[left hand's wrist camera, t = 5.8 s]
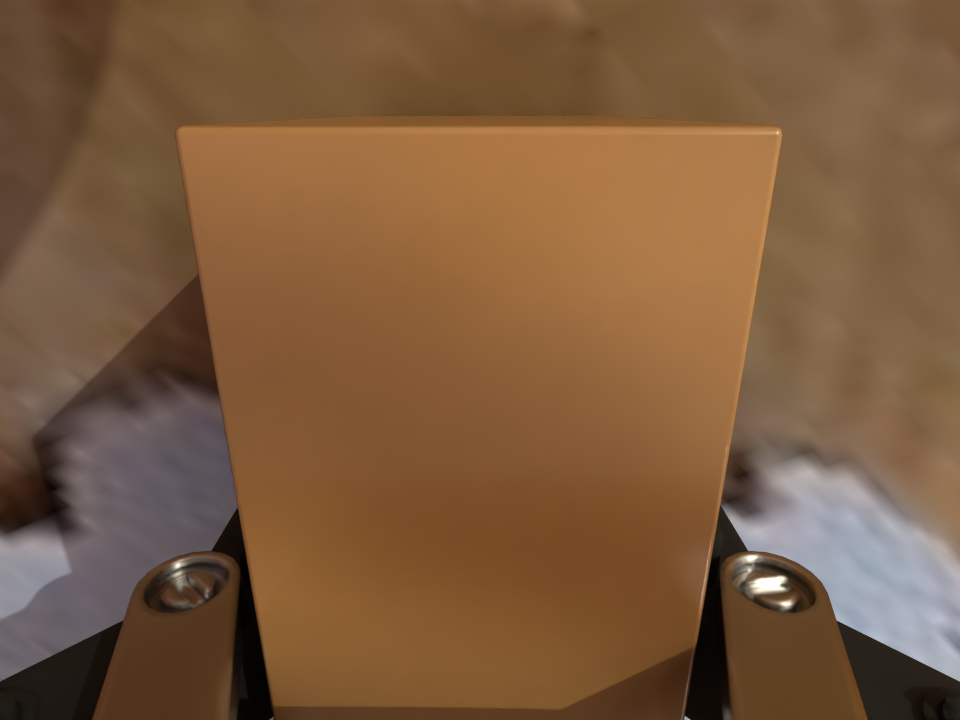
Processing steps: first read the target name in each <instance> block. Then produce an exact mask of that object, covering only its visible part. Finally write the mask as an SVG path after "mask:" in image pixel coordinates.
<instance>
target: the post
mask: <svg viewBox="0 0 960 720" xmlns="http://www.w3.org/2000/svg"><path fill="white" fill-rule="evenodd" d="M175 139H176V145H177V151H178V156H179V162H180V168H181V174H182V180H183V186H184V192H185V198H186V204H187V210H188V215H189V221H190V227H191V233H192V239H193V245H194V251H195V257H196V263H197V269H198V274H199V280H200V286H201V292H202V298H203V304H204V310H205V316H206V322H207V328H208V333H209V339H210V345H211V351H212V357H213V363H214V369H215V375H216V381H217V387H218V392H219V398H220V404H221V410H222V416H223V422H224V428H225V434H226V440H227V445H228V451H229V457H230V463H231V469H232V475H233V481H234V487H235V493H236V499H237V504H238V510H239V516H240V522H241V528H242V534H243V540H244V546H245V552H246V558H247V563H248V569H249V575H250V581H251V587H252V593H253V599H254V605H255V611H256V617H257V622H258V628H259V634H260V640H261V646H262V652H263V658H264V664H265V670H266V676H267V681H268V687H269V693H270V699H271V705H272V711H273V717H274V720H684V717H685V711H686V705H687V699H688V693H689V687H690V681H691V675H692V670H693V664H694V658H695V652H696V646H697V640H698V634H699V628H700V622H701V616H702V610H703V604H704V598H705V592H706V586H707V580H708V574H709V568H710V562H711V556H712V550H713V544H714V538H715V533H716V527H717V521H718V515H719V509H720V503H721V497H722V491H723V485H724V479H725V473H726V467H727V461H728V455H729V449H730V443H731V437H732V431H733V425H734V419H735V413H736V407H737V401H738V396H739V390H740V384H741V378H742V372H743V366H744V360H745V354H746V348H747V342H748V336H749V330H750V324H751V318H752V312H753V306H754V300H755V294H756V288H757V282H758V276H759V270H760V265H761V259H762V253H763V247H764V241H765V235H766V229H767V223H768V217H769V211H770V205H771V199H772V193H773V187H774V181H775V175H776V169H777V163H778V157H779V151H780V145H781V139H782V131H781V129H780V128H778V127H776V126H771V125H754V124H737V123H720V122H703V121H686V120H669V119H653V118H636V117H619V116H341V117H324V118H307V119H289V120H272V121H255V122H238V123H220V124H203V125H186V126H181V127H179V128H177V129H176V132H175Z"/></svg>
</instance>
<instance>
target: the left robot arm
mask: <svg viewBox="0 0 960 720" xmlns="http://www.w3.org/2000/svg"><path fill="white" fill-rule="evenodd" d="M685 716H686V717H688V718H689V719H691V720H960V682H959V681H957V680H955V679H953V678H951V677H949V676H947V675H945V674H943V673H941V672H939V671H937V670H935V669H933V668H931V667H929V666H927V665H925V664H923V663H921V662H919V661H917V660H915V659H913V658H911V657H909V656H907V655H905V654H903V653H901V652H899V651H897V650H895V649H893V648H891V647H889V646H887V645H885V644H883V643H881V642H879V641H877V640H875V639H873V638H871V637H869V636H867V635H864V634H862V633H860V632H858V631H856V630H854V629H852V628H850V627H848V626H846V625H844V624H842V623H840V622H838V621H836V618H835V615H834V612H833V608H832V605H831V602H830V599H829V596H828V593H827V591H826V589H825V588H824V586H823V584H822V582H821V581H820V580H819V579H818V578H817V577H816V576H815V575H814V574H813V573H812V572H810V571H809V570H807V569H806V568H804V567H803V566H801V565H800V564H798V563H796V562H794V561H792V560H789V559H787V558H785V557H782V556H779V555H775V554H771V553H767V552H756V551H748V550H747V548H746V547H745V545H744V543H743V542H742V540H741V538H740V537H739V535H738V533H737V532H736V530H735V528H734V527H733V525H732V523H731V522H730V520H729V519H728V517H727V515H726V514H725V512H724V510H723V509H722V507H721V505H720V509H719V515H718V521H717V527H716V533H715V538H714V544H713V550H712V556H711V562H710V568H709V574H708V580H707V586H706V592H705V598H704V604H703V610H702V616H701V622H700V628H699V634H698V640H697V646H696V652H695V658H694V664H693V670H692V675H691V681H690V687H689V693H688V699H687V705H686V711H685ZM272 717H273V711H272V705H271V699H270V693H269V687H268V681H267V676H266V670H265V664H264V658H263V652H262V646H261V640H260V634H259V628H258V622H257V617H256V611H255V605H254V599H253V593H252V587H251V581H250V575H249V569H248V563H247V558H246V552H245V546H244V540H243V534H242V528H241V522H240V516H239V510H238V508H237V510H236V511H235V513H234V514H233V516H232V518H231V519H230V521H229V523H228V524H227V526H226V528H225V529H224V531H223V533H222V534H221V536H220V538H219V539H218V541H217V543H216V544H215V546H214V548H213V549H212V551H204V552H193V553H189V554H185V555H181V556H178V557H175V558H173V559H171V560H168V561H166V562H164V563H162V564H160V565H159V566H157V567H156V568H154V569H153V570H151V571H150V572H148V573H147V574H146V575H145V576H144V577H143V578H142V579H141V580H140V581H139V582H138V584H137V586H136V588H135V589H134V591H133V593H132V596H131V599H130V602H129V605H128V608H127V612H126V615H125V618H124V620H123V621H121V622H119V623H117V624H115V625H113V626H111V627H109V628H107V629H105V630H103V631H101V632H99V633H97V634H95V635H93V636H91V637H89V638H87V639H85V640H83V641H81V642H79V643H77V644H75V645H73V646H71V647H69V648H67V649H65V650H63V651H61V652H59V653H57V654H55V655H53V656H51V657H49V658H47V659H45V660H43V661H41V662H39V663H37V664H35V665H33V666H31V667H29V668H27V669H25V670H23V671H21V672H19V673H17V674H15V675H13V676H11V677H9V678H7V679H4V680H2V681H0V720H269V719H271V718H272Z"/></svg>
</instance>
